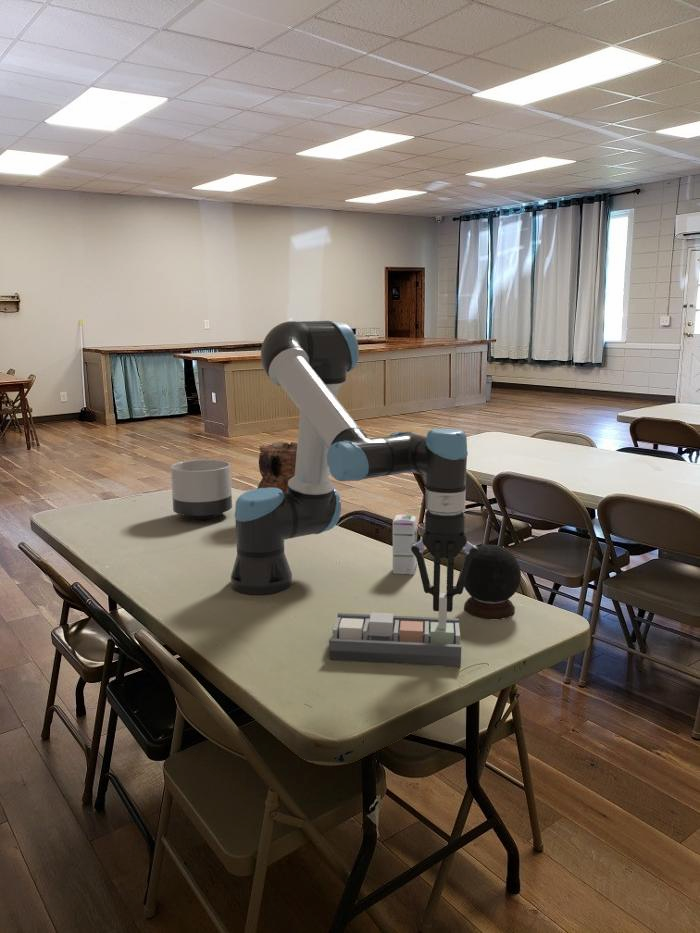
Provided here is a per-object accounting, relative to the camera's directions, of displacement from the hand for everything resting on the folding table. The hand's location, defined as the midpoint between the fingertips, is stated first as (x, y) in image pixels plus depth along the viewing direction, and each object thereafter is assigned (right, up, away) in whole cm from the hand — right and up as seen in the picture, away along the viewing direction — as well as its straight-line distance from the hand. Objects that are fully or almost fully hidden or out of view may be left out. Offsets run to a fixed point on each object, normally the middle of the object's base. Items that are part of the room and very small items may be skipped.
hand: (442, 626), depth 138 cm
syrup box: (-4, +4, +45) cm, 45 cm away
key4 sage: (0, -3, +1) cm, 3 cm away
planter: (-67, +14, +96) cm, 118 cm away
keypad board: (-9, -5, +2) cm, 10 cm away
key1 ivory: (-18, -2, +3) cm, 18 cm away
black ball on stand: (+13, -1, +20) cm, 24 cm away
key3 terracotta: (-6, -3, +1) cm, 7 cm away
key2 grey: (-12, -1, +2) cm, 12 cm away
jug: (-38, +14, +94) cm, 103 cm away
